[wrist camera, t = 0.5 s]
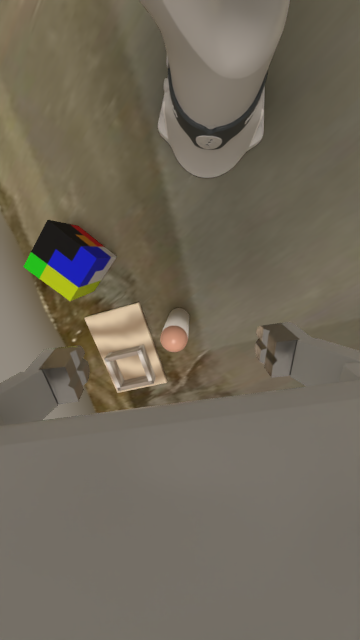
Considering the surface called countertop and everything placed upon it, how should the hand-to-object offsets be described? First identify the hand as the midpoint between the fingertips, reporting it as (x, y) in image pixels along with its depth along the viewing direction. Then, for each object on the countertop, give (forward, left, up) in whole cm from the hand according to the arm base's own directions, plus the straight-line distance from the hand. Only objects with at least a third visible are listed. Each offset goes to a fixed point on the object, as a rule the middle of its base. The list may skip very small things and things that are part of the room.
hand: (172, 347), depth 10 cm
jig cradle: (+21, -13, -38) cm, 46 cm away
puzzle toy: (0, -23, -39) cm, 45 cm away
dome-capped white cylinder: (+11, -1, -38) cm, 40 cm away
